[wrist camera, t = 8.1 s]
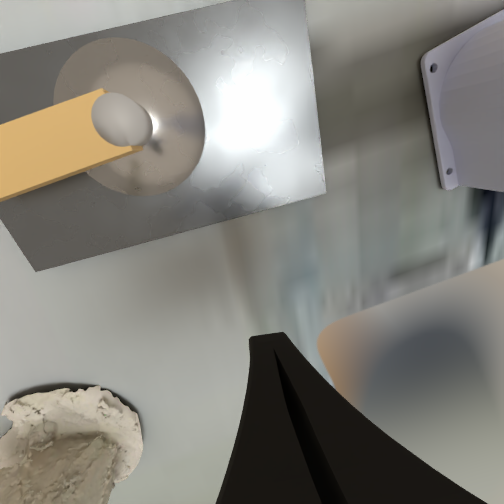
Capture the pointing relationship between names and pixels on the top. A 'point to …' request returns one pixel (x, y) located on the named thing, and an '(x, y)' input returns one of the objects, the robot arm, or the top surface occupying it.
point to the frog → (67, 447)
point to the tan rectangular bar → (69, 140)
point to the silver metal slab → (173, 126)
